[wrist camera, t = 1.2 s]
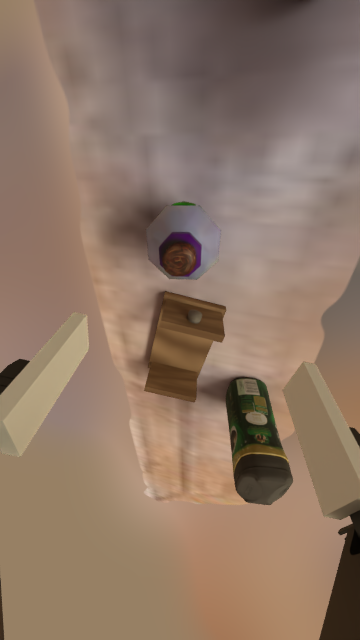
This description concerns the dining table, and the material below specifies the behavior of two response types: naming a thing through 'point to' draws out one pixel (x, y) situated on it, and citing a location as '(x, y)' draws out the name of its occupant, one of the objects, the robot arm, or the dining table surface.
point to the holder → (182, 345)
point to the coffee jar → (255, 443)
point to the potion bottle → (183, 241)
